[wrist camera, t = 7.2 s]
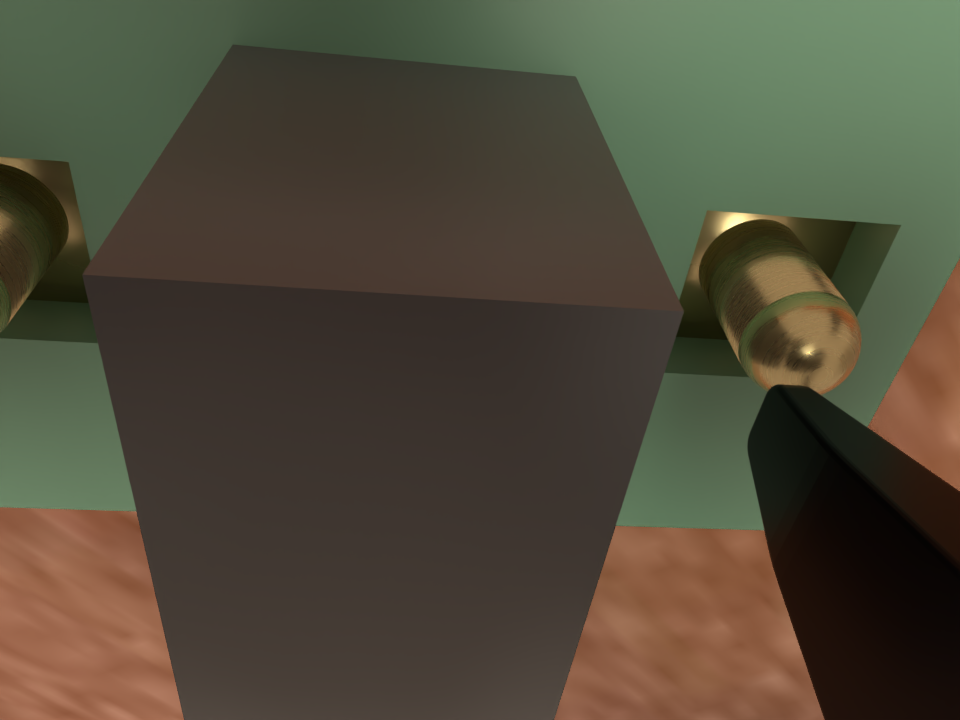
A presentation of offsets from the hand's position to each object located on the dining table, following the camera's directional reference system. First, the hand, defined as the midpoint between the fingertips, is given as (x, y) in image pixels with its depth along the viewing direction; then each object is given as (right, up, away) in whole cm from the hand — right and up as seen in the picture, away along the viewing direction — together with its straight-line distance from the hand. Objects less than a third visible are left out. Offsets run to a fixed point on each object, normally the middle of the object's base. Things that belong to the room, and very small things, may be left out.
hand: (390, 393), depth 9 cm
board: (0, +2, +3) cm, 4 cm away
